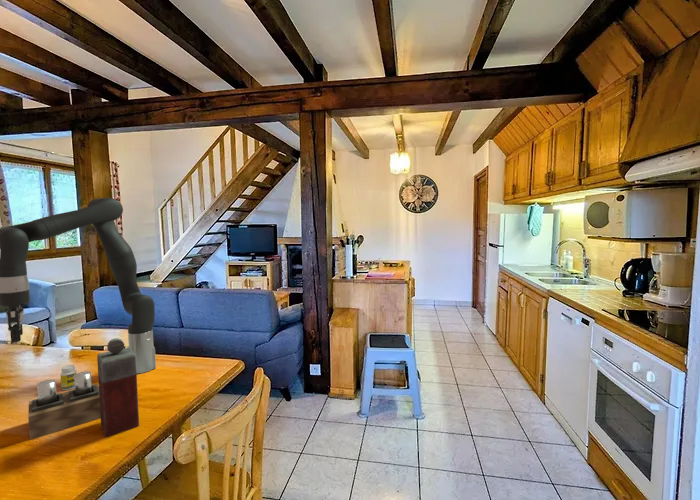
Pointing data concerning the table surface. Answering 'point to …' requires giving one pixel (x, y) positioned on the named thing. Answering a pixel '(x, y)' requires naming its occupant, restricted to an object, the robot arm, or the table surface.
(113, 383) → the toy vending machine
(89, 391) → the peg
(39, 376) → the table surface
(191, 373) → the table surface
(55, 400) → the peg
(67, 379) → the supplement bottle
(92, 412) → the brown wooden block
